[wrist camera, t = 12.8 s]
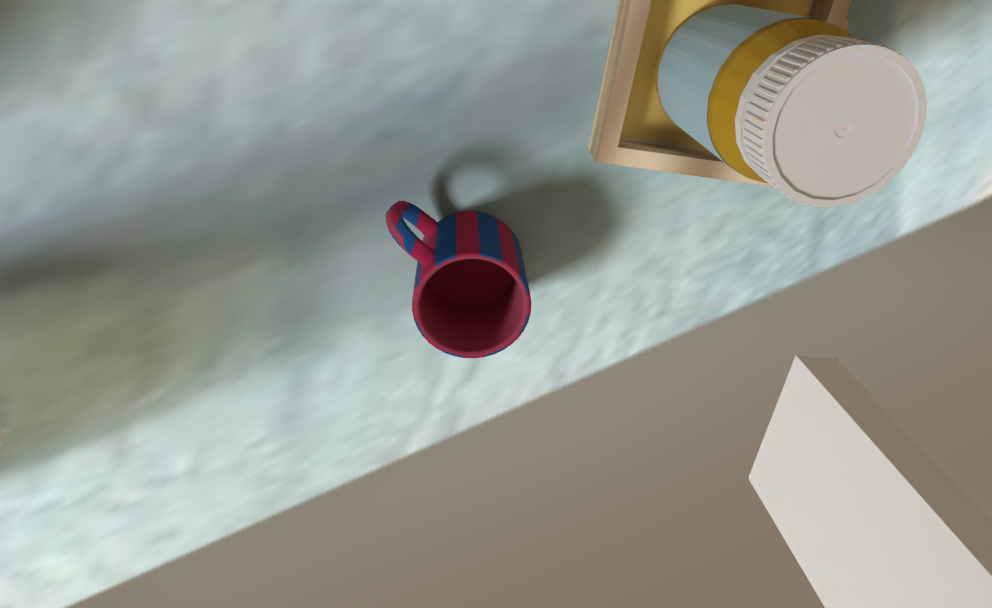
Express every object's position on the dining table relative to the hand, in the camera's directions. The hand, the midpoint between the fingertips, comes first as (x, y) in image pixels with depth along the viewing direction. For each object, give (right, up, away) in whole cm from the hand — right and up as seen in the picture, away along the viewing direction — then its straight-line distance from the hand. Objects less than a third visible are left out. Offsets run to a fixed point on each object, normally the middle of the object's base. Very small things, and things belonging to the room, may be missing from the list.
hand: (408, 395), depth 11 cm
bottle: (+14, +15, +28) cm, 34 cm away
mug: (-1, +6, +33) cm, 33 cm away
